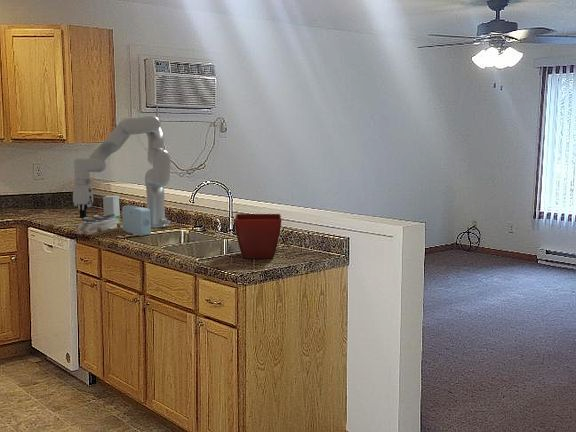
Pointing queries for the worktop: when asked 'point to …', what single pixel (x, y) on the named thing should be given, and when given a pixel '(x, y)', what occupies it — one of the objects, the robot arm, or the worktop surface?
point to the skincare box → (111, 206)
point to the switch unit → (99, 227)
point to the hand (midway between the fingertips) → (83, 217)
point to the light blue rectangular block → (136, 220)
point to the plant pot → (258, 234)
